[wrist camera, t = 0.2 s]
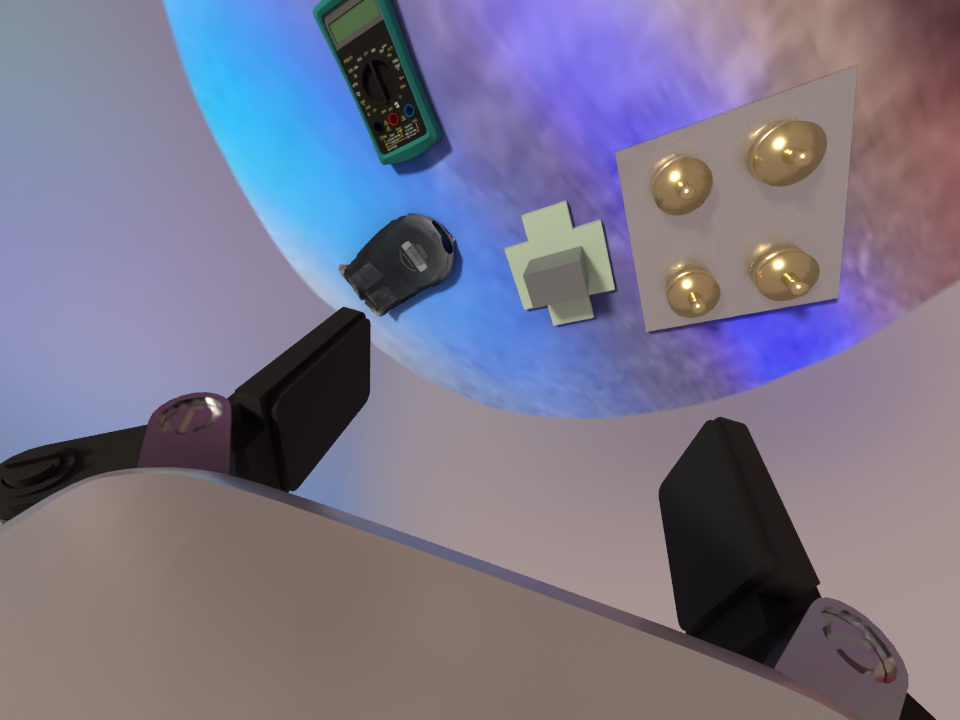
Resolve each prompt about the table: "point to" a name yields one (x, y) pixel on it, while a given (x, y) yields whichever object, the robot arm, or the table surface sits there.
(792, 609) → the robot arm
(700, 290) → the chassis
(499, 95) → the table surface
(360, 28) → the digital multimeter
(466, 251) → the table surface
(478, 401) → the table surface
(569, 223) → the board
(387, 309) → the electronic device
